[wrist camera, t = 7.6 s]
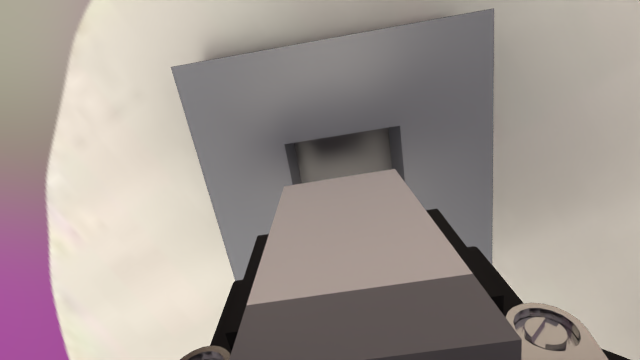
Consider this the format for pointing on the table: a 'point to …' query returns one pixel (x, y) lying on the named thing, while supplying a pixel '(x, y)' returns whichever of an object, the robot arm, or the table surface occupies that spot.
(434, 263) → the block
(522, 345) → the robot arm
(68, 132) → the table surface
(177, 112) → the table surface
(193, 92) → the block
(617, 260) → the table surface
